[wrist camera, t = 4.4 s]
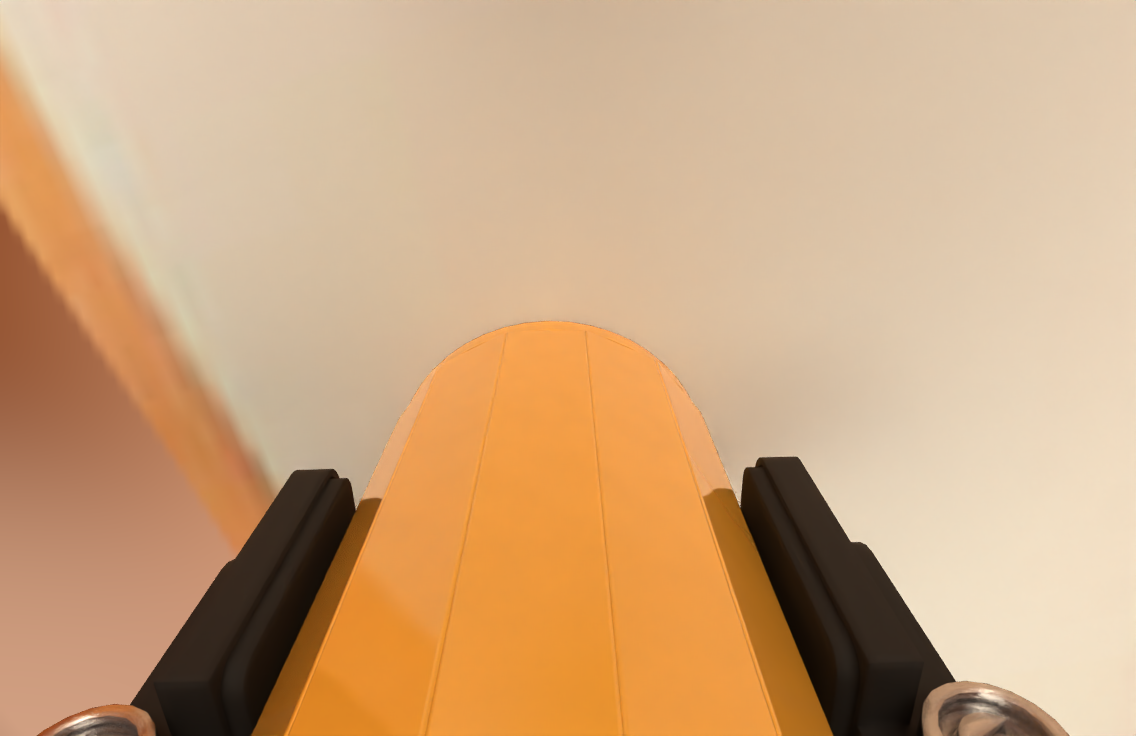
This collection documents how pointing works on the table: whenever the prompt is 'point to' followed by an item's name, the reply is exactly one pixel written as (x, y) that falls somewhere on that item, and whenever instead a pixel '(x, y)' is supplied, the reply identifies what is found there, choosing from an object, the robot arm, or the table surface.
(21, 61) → the table surface
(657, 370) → the ochre cup
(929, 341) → the table surface
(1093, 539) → the table surface
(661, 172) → the table surface
